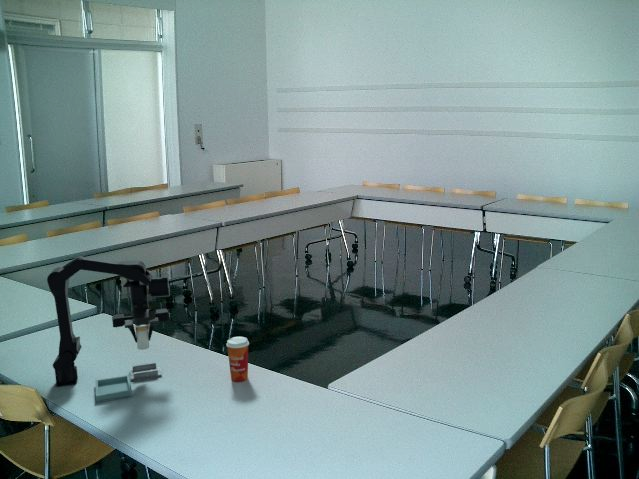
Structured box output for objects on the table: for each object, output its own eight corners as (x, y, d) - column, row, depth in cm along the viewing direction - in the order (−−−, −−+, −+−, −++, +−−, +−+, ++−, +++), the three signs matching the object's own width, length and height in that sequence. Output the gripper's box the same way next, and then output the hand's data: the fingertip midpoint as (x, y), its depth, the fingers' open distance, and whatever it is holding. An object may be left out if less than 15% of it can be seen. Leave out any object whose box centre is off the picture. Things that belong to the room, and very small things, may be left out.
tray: (96, 402, 206) (95, 396, 205) (95, 386, 218) (95, 380, 217) (132, 396, 209) (131, 390, 209) (129, 380, 221) (129, 374, 221)
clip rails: (130, 381, 221) (130, 374, 220) (129, 372, 228) (128, 365, 228) (161, 376, 224) (161, 369, 224) (159, 368, 231) (158, 361, 231)
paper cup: (223, 381, 219) (221, 342, 217) (236, 372, 226) (234, 334, 223) (242, 385, 216) (240, 345, 213) (255, 376, 223) (253, 338, 220)
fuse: (137, 350, 221) (135, 328, 220) (136, 346, 225) (134, 324, 224) (149, 348, 223) (148, 326, 221) (148, 344, 227) (147, 322, 225)
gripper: (111, 308, 210) (115, 353, 213) (169, 301, 216) (173, 345, 219) (110, 298, 220) (114, 342, 223) (166, 292, 226) (169, 334, 229)
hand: (142, 341), depth 224 cm, fingers closed on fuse, 4 cm apart
